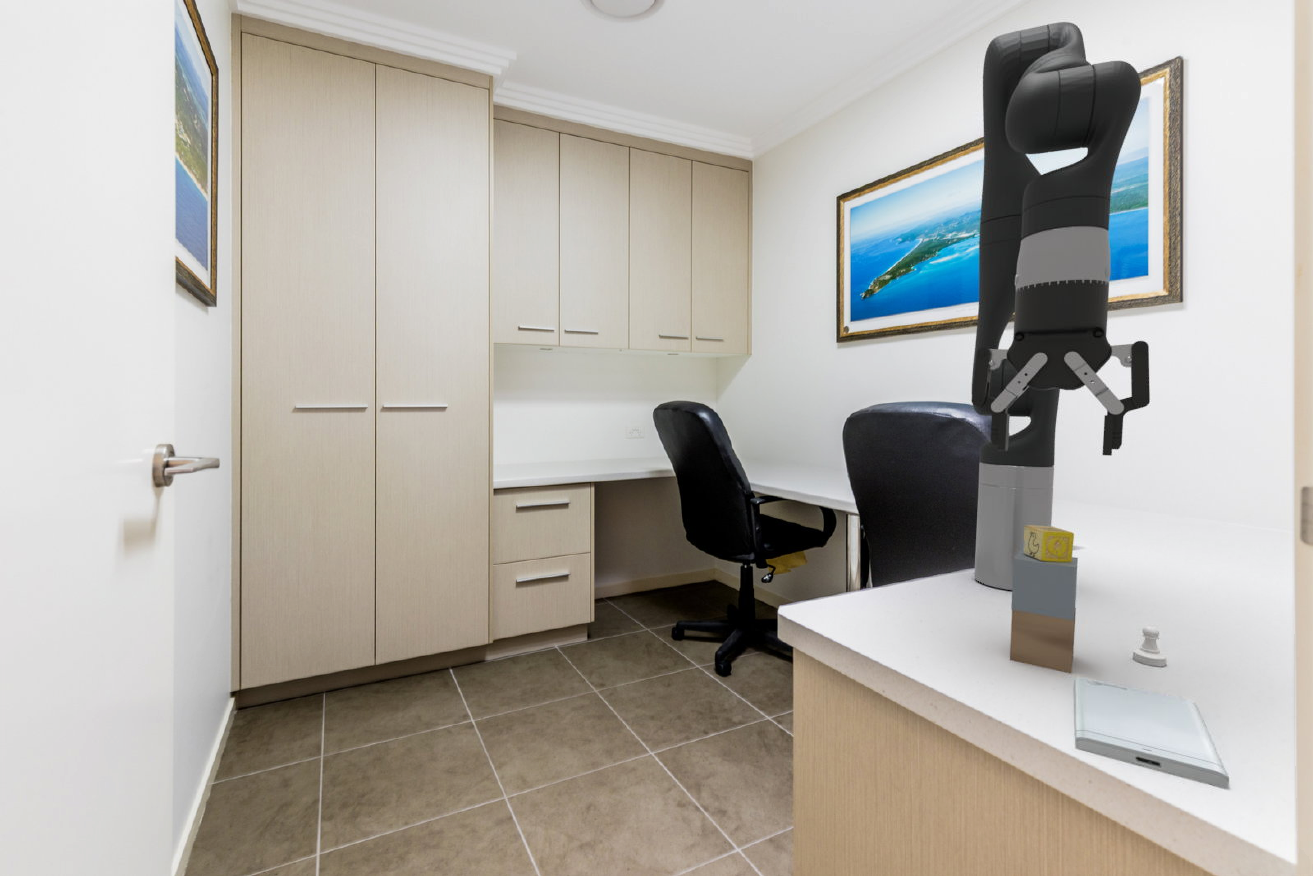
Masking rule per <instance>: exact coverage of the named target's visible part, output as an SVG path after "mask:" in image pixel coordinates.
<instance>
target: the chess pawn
mask: <svg viewBox="0 0 1313 876" xmlns="http://www.w3.org/2000/svg"><path fill="white" fill-rule="evenodd" d="M1159 636H1160V631H1159V630H1158V628H1157V627H1154V626H1151V625H1147V626H1144V627H1143V628H1142V637H1144V639H1143V643H1142V644H1141V645H1139V648H1135V649H1133V650H1132V651H1133V652H1132V659H1133V660H1134V661H1136V662H1137V663H1140V664H1142V665H1146V666H1150V667H1164V666H1167V656H1166V655H1165V654H1163V653H1161V650H1160V648H1159V647H1158V644H1157V640H1159V639H1160V638H1159Z"/></svg>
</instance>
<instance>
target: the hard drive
mask: <svg viewBox="0 0 1313 876" xmlns="http://www.w3.org/2000/svg"><path fill="white" fill-rule="evenodd" d="M1073 696H1074V697H1073V703H1074V704H1073V709H1074V710H1073V711H1074V712H1073V713H1074V741H1075V742H1074V746H1075V749H1077V750H1081V751H1085V752H1088V753H1091V754H1096V755H1100V756H1103V757H1107V758H1111V759H1115V760H1118V761H1122V762H1125V763H1129V764H1133V765H1137V766H1141V767H1144V768H1148V769H1152V770H1156V771H1160V772H1162V773H1167V774H1171V775H1173V776H1178V777H1181V778H1185V779H1189V780H1193V781H1197V782H1200V783H1205V784H1207V785H1211V786H1215V787H1219V788H1223V789H1225V790H1229V785H1230V784H1229V783H1230V777H1229V775H1228V773H1227V770H1226V768H1225V766H1224V764H1223V762H1222V759H1221V758H1220V754H1219V753H1218V751H1217V748H1216V746H1215V743H1214V742H1213V740H1212V737H1211V734H1210V732H1209V731H1208V728H1207V725H1206V724H1205V721H1204V719H1203V717H1202V715H1201V712H1200V710H1199V708H1198V706H1197V703H1196V702H1195V701H1192V700H1191V699H1187V698H1182V697H1177V696H1175V695H1174V696H1173V695H1169V694H1164V693H1160V692H1155V691H1149V690H1146V689H1145V690H1144V689H1141V688H1134V687H1130V686H1125V685H1122V684H1121V685H1120V684H1115V683H1111V682H1106V681H1101V680H1095V679H1092V678H1088V677H1087V678H1086V677H1081V676H1080V677H1074V680H1073Z"/></svg>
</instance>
